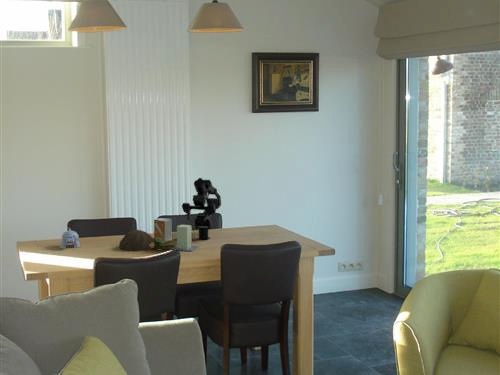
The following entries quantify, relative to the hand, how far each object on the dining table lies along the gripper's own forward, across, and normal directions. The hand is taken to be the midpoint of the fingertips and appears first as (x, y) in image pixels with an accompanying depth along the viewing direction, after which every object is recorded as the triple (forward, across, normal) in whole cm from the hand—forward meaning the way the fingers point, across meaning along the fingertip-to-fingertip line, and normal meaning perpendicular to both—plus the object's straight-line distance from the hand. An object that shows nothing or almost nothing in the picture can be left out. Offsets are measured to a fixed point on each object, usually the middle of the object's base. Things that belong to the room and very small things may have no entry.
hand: (196, 220), depth 407 cm
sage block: (+19, -3, -1) cm, 19 cm away
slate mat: (+19, -3, 0) cm, 19 cm away
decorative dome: (+21, -29, -2) cm, 36 cm away
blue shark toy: (+26, -65, -7) cm, 70 cm away
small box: (+9, -20, +11) cm, 24 cm away
